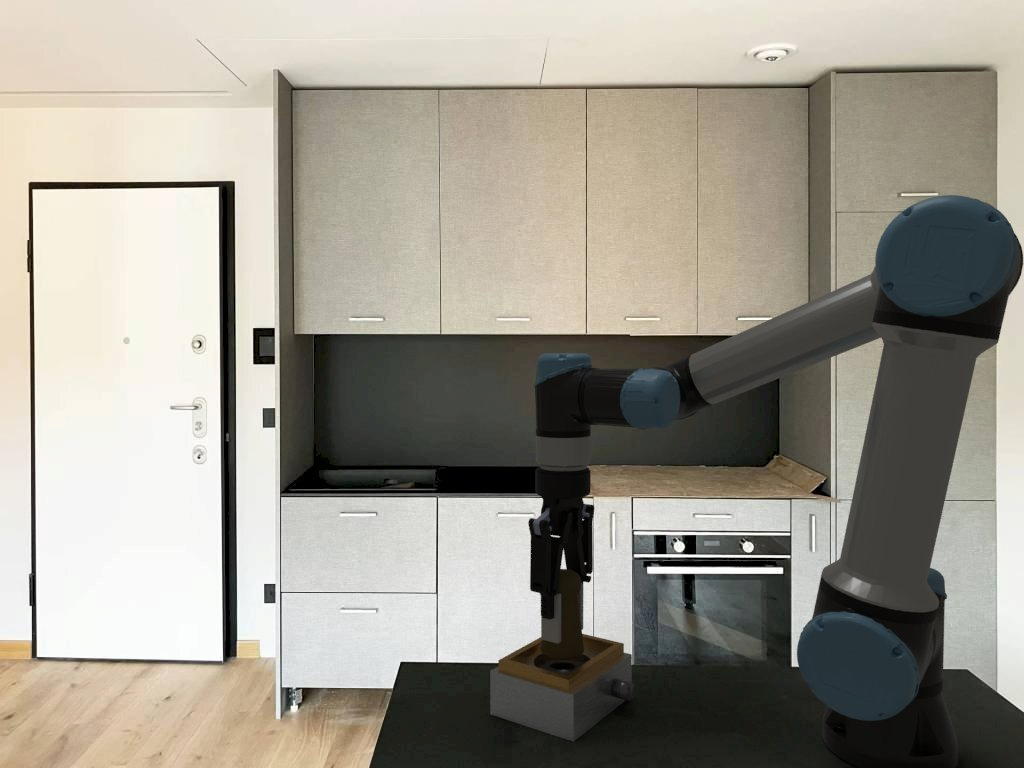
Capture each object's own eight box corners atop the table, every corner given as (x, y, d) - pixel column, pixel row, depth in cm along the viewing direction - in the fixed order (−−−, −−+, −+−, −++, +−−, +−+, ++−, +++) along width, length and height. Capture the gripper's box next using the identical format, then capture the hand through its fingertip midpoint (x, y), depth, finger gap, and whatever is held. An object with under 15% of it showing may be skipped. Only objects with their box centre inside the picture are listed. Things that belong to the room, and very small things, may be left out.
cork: (581, 641, 113) (581, 564, 113) (586, 658, 107) (587, 577, 107) (538, 641, 113) (538, 565, 113) (541, 658, 107) (542, 577, 107)
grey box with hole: (647, 700, 112) (647, 647, 112) (590, 747, 99) (590, 688, 98) (553, 674, 121) (553, 625, 120) (490, 714, 108) (490, 659, 107)
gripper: (573, 456, 118) (573, 610, 120) (501, 472, 104) (501, 648, 105) (618, 460, 114) (617, 620, 115) (550, 478, 99) (550, 661, 100)
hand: (562, 633), depth 110 cm, fingers closed on cork, 5 cm apart
